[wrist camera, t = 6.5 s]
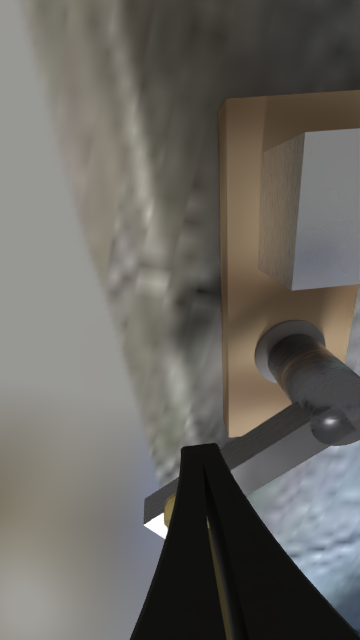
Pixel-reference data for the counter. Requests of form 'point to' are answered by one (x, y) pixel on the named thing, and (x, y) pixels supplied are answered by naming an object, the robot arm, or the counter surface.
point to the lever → (285, 423)
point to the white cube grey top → (311, 210)
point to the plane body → (242, 253)
